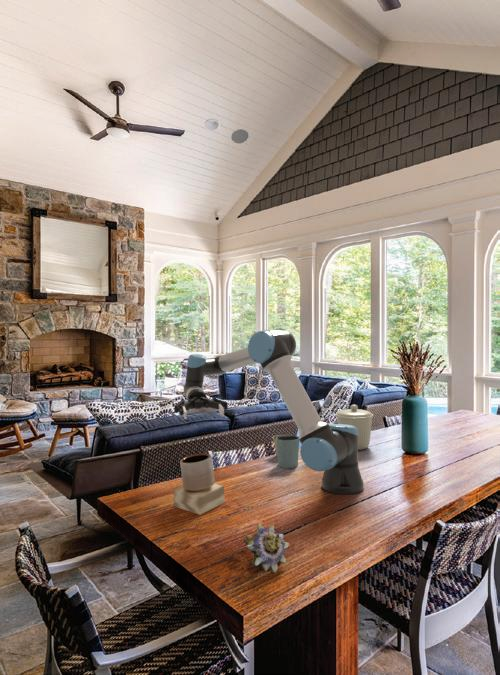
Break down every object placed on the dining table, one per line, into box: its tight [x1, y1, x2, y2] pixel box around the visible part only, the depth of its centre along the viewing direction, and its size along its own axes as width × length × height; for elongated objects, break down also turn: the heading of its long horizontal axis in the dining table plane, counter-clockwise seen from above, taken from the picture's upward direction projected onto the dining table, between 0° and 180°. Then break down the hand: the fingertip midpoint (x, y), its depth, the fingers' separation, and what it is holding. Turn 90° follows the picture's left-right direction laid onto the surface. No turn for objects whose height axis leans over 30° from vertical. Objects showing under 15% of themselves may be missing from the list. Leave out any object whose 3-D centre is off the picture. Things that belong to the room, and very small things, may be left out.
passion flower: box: [243, 522, 290, 574], centre depth 111 cm, size 11×11×12 cm
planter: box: [179, 453, 216, 491], centre depth 150 cm, size 11×11×10 cm
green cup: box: [276, 434, 300, 469], centre depth 192 cm, size 10×10×12 cm
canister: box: [335, 404, 374, 451], centre depth 217 cm, size 18×18×21 cm
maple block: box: [173, 483, 225, 516], centre depth 150 cm, size 12×12×6 cm
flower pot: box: [272, 434, 283, 457], centre depth 206 cm, size 9×9×9 cm
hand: (204, 414), depth 160 cm, fingers open, 13 cm apart
